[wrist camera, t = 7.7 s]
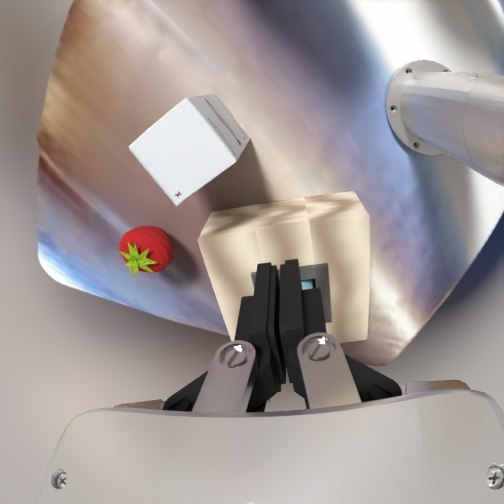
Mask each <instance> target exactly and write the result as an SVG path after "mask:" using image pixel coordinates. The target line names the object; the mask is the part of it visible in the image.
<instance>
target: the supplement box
mask: <svg viewBox="0 0 504 504" xmlns="http://www.w3.org/2000/svg"><path fill="white" fill-rule="evenodd" d="M249 140H250V137H249V136H248V135H247V134H246V133H245V131H244V130H243V129H242V128H241V126H240V125H239V124H238V123H237V121H236V120H235V119H234V117H233V116H232V115H231V114H230V112H229V111H228V110H227V108H226V107H225V106H224V104H223V103H222V102H221V100H220V99H219V98H218V96H217V95H216V94H211V95H203V96H194V97H187V98H185V99H184V100H182V101H181V102H180V103H179V104H177V105H176V106H175V107H174V108H172V109H171V110H170V111H169V112H168V113H166V114H165V115H164V116H163V117H162V118H160V119H159V120H158V121H157V122H156V123H154V124H153V125H152V126H151V127H150V128H149V129H147V130H146V131H145V132H144V133H143V134H142V135H141V136H140V137H138V138H137V139H136V140H135V141H134V142H133V143H132V144H131V145H130V146H129V149H130V151H131V152H132V153H133V154H134V156H135V157H136V158H137V159H138V160H139V162H140V163H141V164H142V165H143V167H144V168H145V169H146V170H147V171H148V173H149V174H150V175H151V176H152V178H153V179H154V180H155V181H156V182H157V183H158V185H159V186H160V187H161V188H162V189H163V191H164V192H165V193H166V194H167V196H168V197H169V198H170V199H171V200H172V202H173V203H174V204H175V205H176V206H179V205H180V204H181V203H183V202H184V201H185V200H187V199H188V198H189V197H190V196H192V195H193V194H194V193H196V192H197V191H198V190H200V189H201V188H202V187H203V186H205V185H206V184H207V183H209V182H210V181H211V180H213V179H214V178H215V177H217V176H218V175H219V174H221V173H222V172H223V171H225V170H226V169H227V168H229V167H230V166H231V165H233V164H234V163H236V162H237V160H238V159H239V157H240V155H241V154H242V152H243V150H244V149H245V147H246V145H247V144H248V142H249Z"/></svg>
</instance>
